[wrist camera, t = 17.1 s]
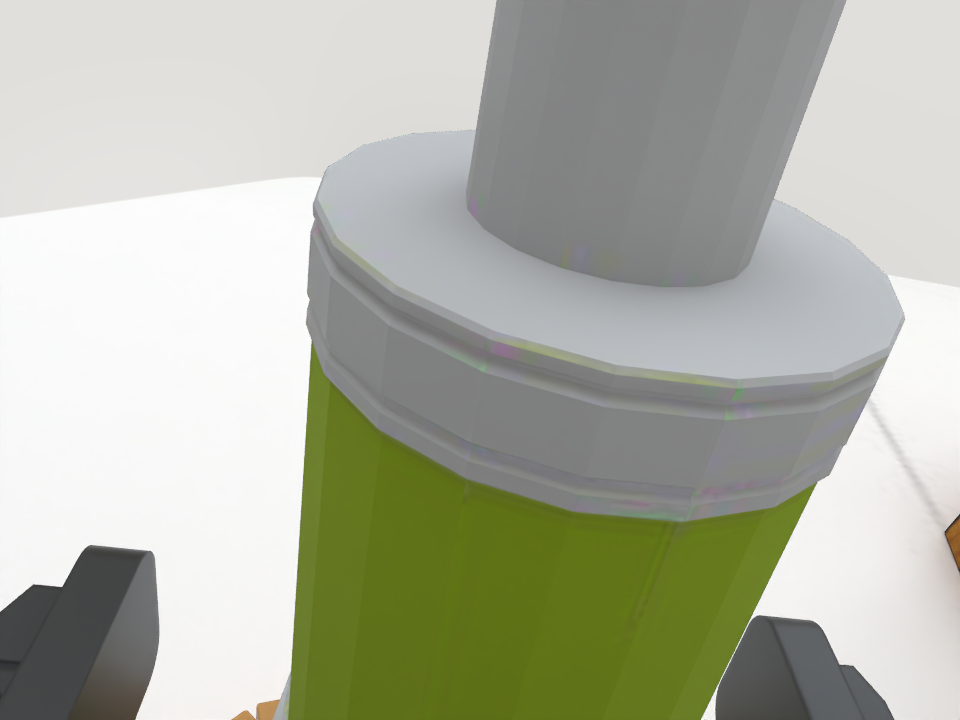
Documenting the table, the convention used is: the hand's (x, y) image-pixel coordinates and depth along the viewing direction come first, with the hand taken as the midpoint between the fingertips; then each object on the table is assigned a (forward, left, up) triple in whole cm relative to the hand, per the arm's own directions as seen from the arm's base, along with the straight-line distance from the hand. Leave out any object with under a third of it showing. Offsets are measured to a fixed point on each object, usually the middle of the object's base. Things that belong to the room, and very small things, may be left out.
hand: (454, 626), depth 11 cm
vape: (-1, -2, -11) cm, 12 cm away
